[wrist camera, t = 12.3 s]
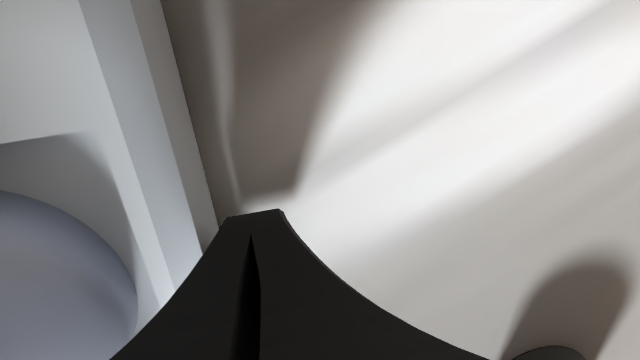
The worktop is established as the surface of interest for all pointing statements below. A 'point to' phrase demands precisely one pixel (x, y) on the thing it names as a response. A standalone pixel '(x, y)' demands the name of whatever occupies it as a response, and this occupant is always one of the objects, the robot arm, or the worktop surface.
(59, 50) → the tray
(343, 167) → the worktop surface
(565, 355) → the dark grey cylinder
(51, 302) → the disc
